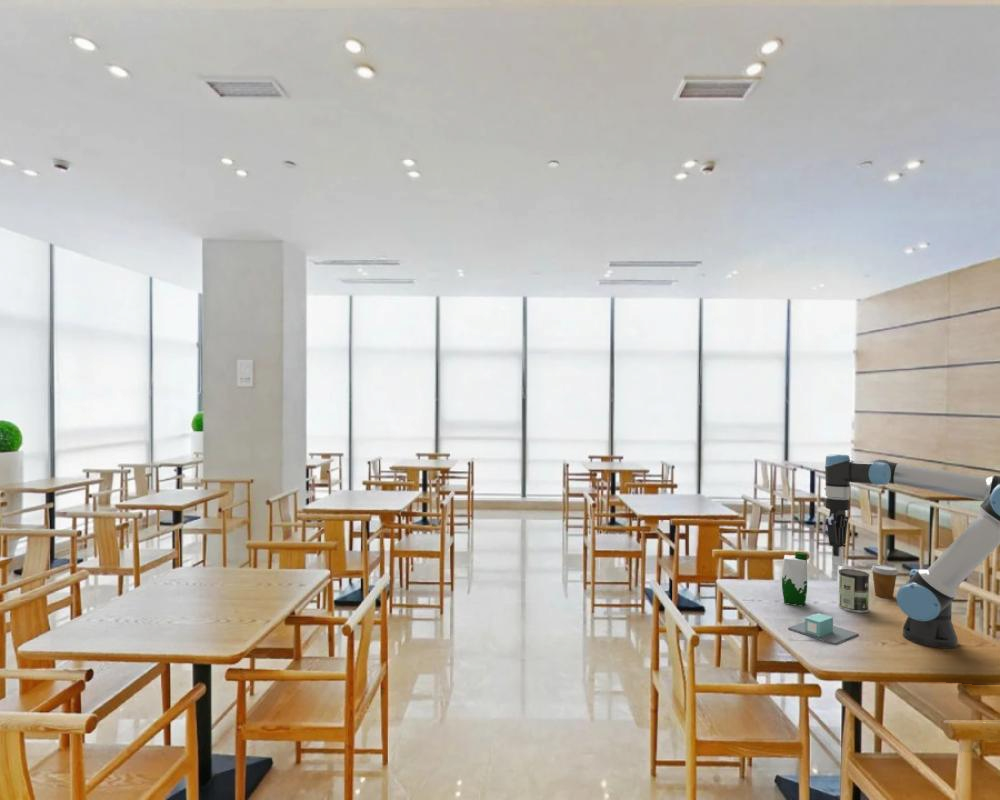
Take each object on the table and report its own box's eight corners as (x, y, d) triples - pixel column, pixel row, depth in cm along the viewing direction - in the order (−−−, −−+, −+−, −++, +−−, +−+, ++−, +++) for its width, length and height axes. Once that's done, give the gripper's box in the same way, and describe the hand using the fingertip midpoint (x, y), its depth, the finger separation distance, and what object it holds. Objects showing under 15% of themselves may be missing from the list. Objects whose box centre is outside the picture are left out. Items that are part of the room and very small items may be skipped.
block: (833, 617, 206) (819, 622, 201) (832, 631, 206) (819, 637, 200) (818, 613, 210) (804, 617, 205) (818, 627, 210) (804, 632, 205)
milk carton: (807, 607, 233) (808, 556, 233) (781, 603, 237) (782, 553, 237) (806, 601, 241) (807, 551, 241) (781, 597, 245) (782, 548, 245)
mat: (858, 635, 205) (858, 633, 205) (835, 644, 196) (835, 642, 196) (812, 620, 218) (812, 619, 218) (788, 629, 209) (788, 627, 209)
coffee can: (868, 607, 236) (869, 571, 236) (868, 614, 227) (869, 577, 227) (838, 602, 241) (839, 567, 241) (837, 609, 232) (838, 572, 232)
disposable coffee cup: (903, 599, 248) (903, 569, 248) (883, 599, 246) (884, 570, 246) (883, 591, 257) (884, 564, 257) (865, 592, 255) (865, 564, 255)
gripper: (834, 495, 219) (834, 560, 218) (817, 498, 211) (817, 565, 210) (856, 497, 213) (856, 564, 212) (840, 500, 205) (840, 569, 204)
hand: (837, 564), depth 211 cm, fingers closed
